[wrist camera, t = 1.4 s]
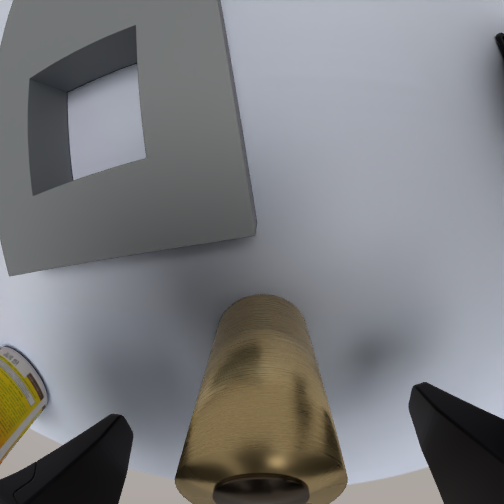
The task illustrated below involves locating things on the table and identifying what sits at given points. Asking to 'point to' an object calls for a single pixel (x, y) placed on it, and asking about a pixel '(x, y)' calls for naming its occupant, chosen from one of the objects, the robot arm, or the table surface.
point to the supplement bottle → (17, 398)
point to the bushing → (261, 415)
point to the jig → (153, 122)
